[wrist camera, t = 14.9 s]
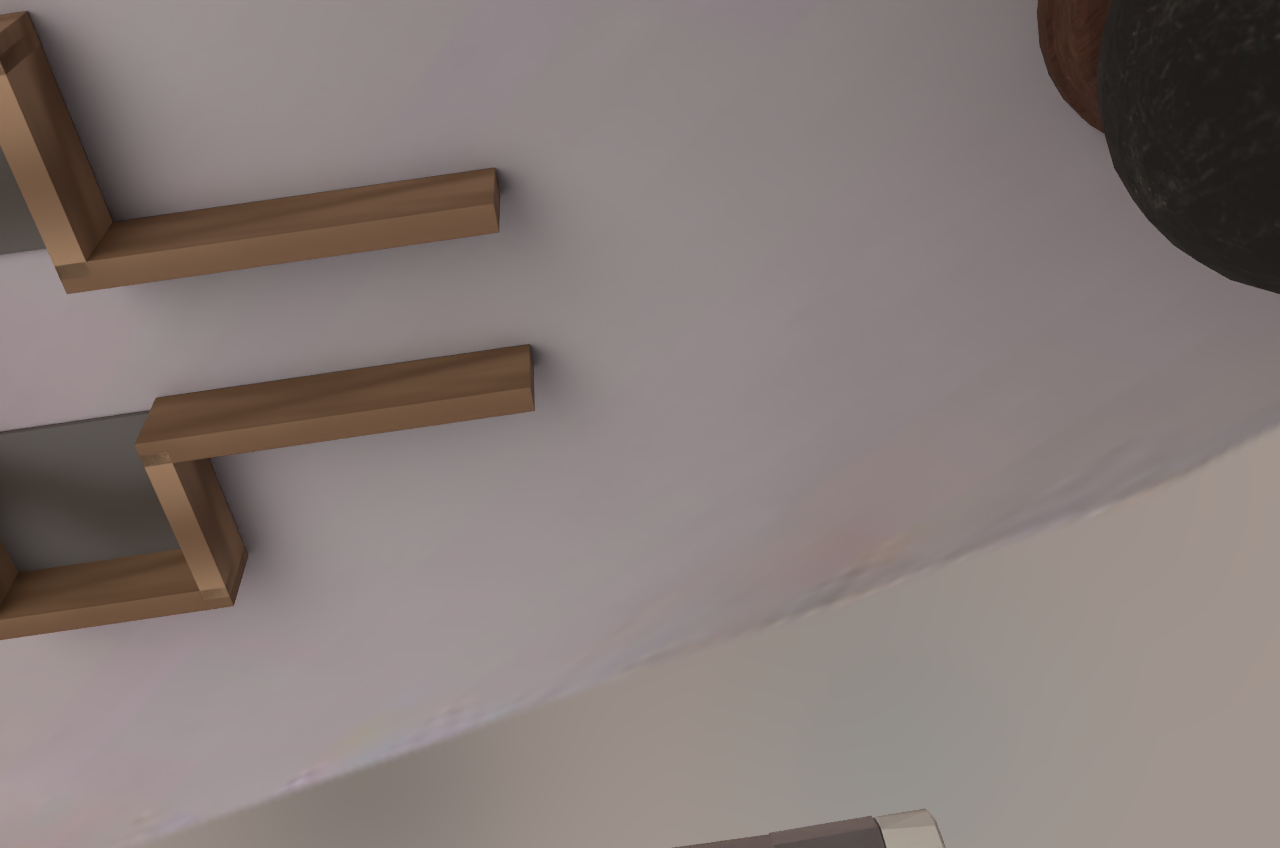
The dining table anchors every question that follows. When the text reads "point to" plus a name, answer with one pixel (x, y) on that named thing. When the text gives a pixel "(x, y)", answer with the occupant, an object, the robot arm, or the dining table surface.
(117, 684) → the dining table surface
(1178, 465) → the dining table surface
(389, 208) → the wooden compartment box
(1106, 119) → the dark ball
